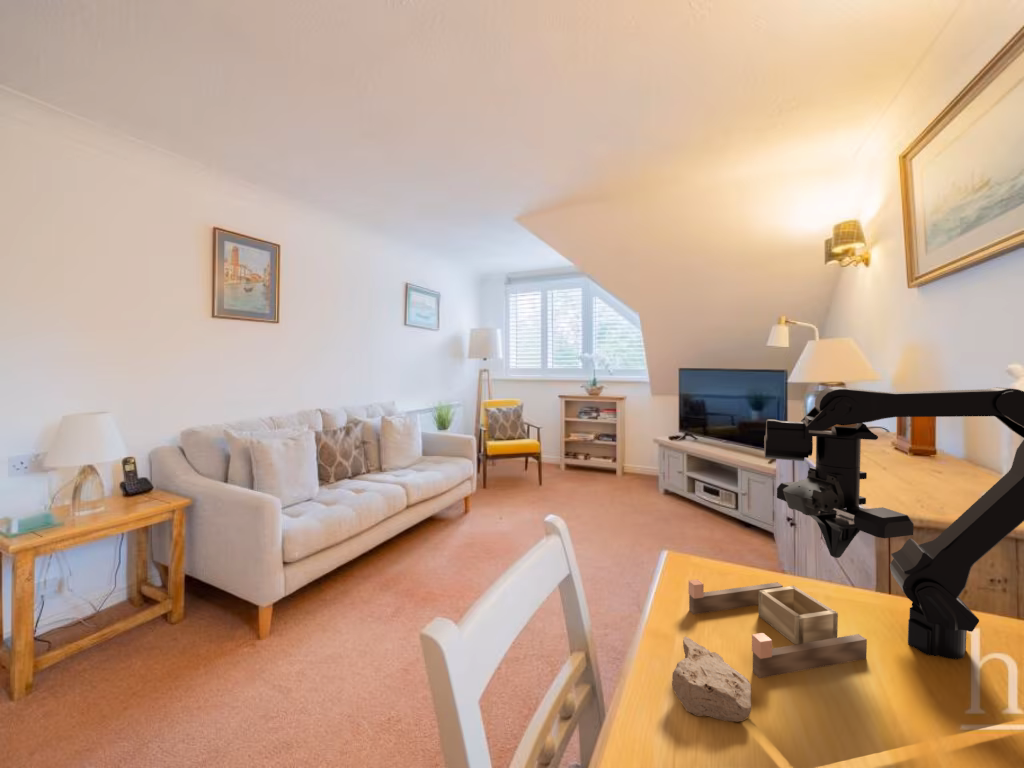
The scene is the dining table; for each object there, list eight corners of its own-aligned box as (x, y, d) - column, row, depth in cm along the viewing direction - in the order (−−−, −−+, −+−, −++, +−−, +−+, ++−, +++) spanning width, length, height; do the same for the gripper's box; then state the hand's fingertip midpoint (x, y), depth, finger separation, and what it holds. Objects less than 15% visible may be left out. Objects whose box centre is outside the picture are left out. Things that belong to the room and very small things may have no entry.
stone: (669, 709, 53) (669, 672, 53) (686, 656, 63) (686, 625, 63) (748, 743, 48) (749, 703, 48) (753, 680, 58) (754, 647, 58)
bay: (776, 601, 76) (776, 569, 76) (867, 665, 60) (868, 624, 60) (688, 614, 73) (688, 580, 73) (760, 685, 57) (760, 642, 56)
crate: (793, 610, 72) (793, 585, 72) (837, 640, 64) (837, 612, 64) (758, 615, 71) (758, 590, 70) (798, 647, 63) (799, 618, 62)
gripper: (751, 454, 75) (750, 538, 76) (853, 483, 57) (850, 593, 57) (803, 451, 77) (802, 532, 78) (918, 478, 59) (914, 584, 59)
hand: (835, 556), depth 68 cm, fingers closed
